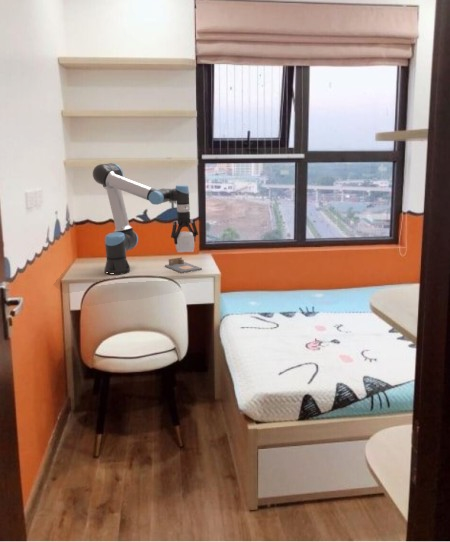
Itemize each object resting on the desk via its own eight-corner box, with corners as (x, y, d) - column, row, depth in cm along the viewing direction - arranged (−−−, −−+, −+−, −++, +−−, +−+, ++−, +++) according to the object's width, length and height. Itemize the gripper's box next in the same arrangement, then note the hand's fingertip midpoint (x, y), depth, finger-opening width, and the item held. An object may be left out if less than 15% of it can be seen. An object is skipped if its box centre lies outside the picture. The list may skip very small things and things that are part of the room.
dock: (181, 273, 309) (180, 265, 308) (165, 266, 327) (164, 259, 326) (201, 269, 316) (201, 262, 315) (184, 263, 334) (184, 256, 333)
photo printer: (193, 250, 318) (192, 230, 315) (194, 251, 314) (193, 231, 311) (176, 251, 317) (175, 231, 314) (177, 253, 313) (176, 232, 310)
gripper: (169, 213, 301) (171, 251, 306) (202, 210, 312) (204, 246, 318) (163, 212, 307) (165, 249, 312) (196, 209, 319) (198, 244, 324)
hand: (185, 248), depth 315 cm, fingers closed on photo printer, 10 cm apart
